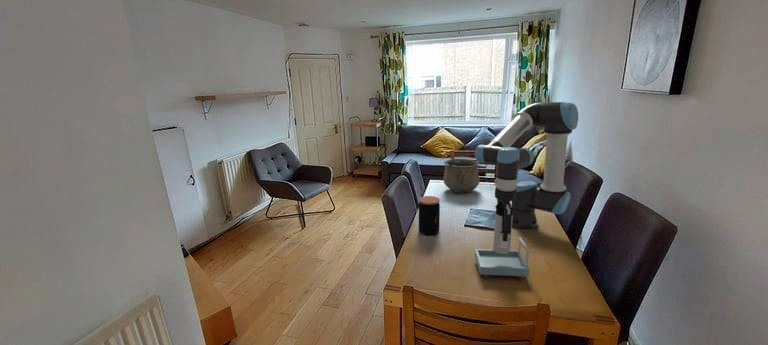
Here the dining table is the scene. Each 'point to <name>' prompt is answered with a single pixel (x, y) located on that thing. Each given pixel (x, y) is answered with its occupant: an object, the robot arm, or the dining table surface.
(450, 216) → the dining table surface
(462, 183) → the pot
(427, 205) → the coffee jar
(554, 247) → the dining table surface
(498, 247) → the travel mug
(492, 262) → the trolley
